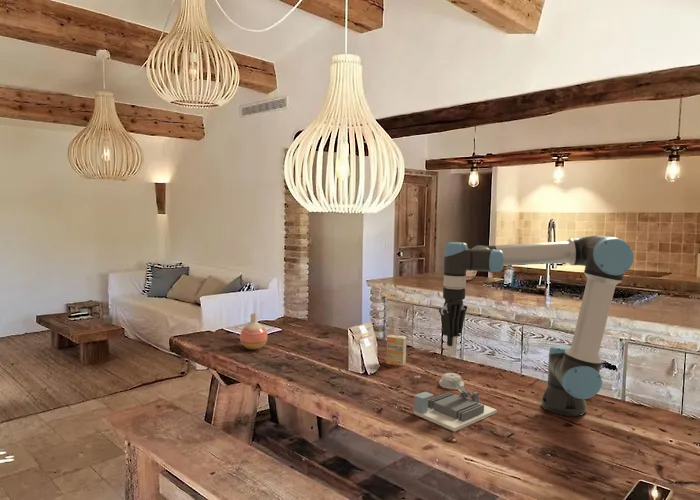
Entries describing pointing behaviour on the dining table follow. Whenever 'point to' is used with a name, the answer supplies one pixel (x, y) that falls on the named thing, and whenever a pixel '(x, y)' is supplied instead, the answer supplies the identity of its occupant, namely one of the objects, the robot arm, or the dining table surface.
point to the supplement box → (396, 350)
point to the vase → (253, 334)
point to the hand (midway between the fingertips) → (451, 354)
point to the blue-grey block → (422, 402)
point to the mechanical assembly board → (455, 410)
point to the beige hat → (454, 377)
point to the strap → (457, 386)
